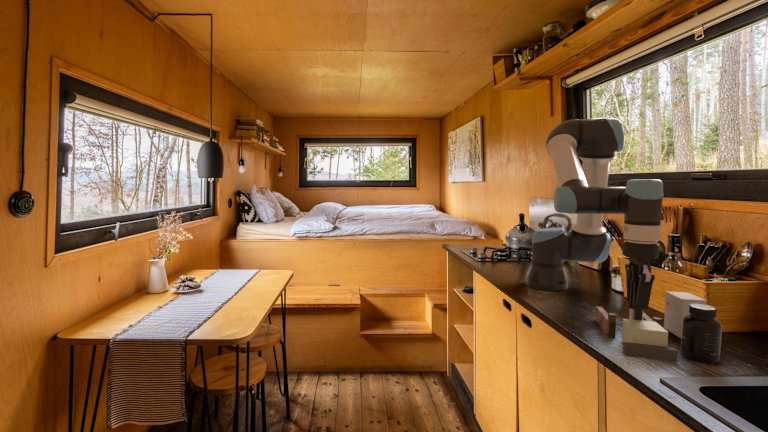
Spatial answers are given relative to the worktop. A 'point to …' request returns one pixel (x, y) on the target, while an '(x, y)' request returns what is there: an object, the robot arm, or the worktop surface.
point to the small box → (678, 310)
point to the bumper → (650, 351)
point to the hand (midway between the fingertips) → (635, 333)
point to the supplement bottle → (701, 334)
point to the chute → (609, 321)
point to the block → (644, 332)
